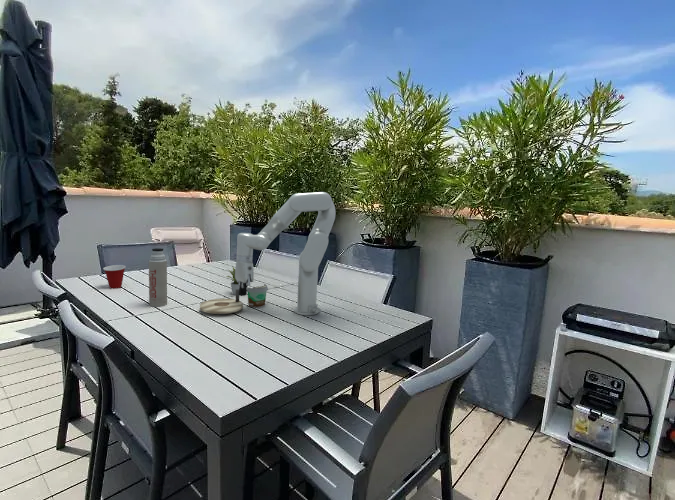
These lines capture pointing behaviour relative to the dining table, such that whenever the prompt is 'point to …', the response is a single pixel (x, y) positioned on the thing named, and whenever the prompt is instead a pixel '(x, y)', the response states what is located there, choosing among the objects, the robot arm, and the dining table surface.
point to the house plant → (233, 284)
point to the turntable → (222, 305)
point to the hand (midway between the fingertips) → (242, 295)
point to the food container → (257, 296)
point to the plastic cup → (115, 275)
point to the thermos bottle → (157, 278)
